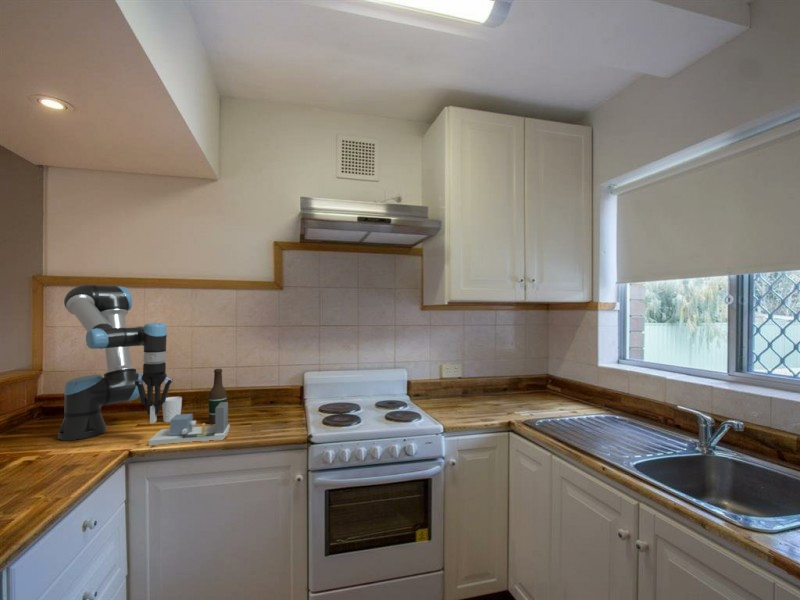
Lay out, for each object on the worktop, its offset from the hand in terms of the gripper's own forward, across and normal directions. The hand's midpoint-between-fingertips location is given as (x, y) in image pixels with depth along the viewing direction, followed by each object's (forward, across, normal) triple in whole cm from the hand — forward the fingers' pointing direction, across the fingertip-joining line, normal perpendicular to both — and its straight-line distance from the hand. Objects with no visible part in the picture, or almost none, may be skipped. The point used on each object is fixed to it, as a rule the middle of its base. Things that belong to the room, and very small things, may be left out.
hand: (153, 422), depth 151 cm
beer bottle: (+7, +20, +18) cm, 28 cm away
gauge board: (+7, +14, -1) cm, 16 cm away
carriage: (+4, +11, -2) cm, 12 cm away
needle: (+3, +19, -6) cm, 21 cm away
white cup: (+8, -1, +27) cm, 28 cm away
